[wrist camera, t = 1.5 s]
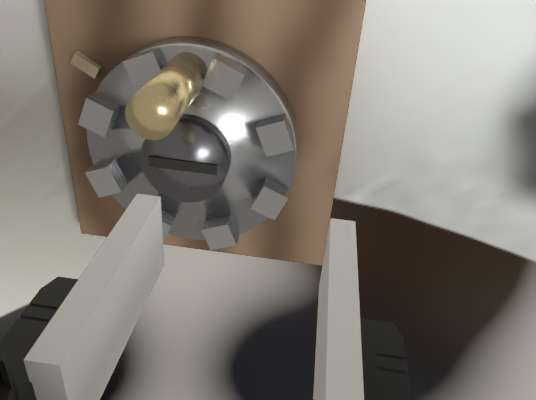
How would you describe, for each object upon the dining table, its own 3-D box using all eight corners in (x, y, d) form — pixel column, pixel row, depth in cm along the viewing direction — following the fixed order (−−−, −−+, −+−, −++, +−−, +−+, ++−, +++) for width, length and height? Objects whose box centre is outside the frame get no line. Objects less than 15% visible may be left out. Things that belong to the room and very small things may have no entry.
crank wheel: (308, 48, 31) (297, 103, 22) (288, 232, 38) (273, 323, 30) (90, 25, 31) (3, 70, 23) (111, 209, 39) (51, 292, 31)
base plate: (364, -5, 31) (366, 2, 29) (322, 250, 41) (321, 269, 39) (55, -35, 32) (35, -30, 30) (91, 219, 43) (78, 236, 40)
